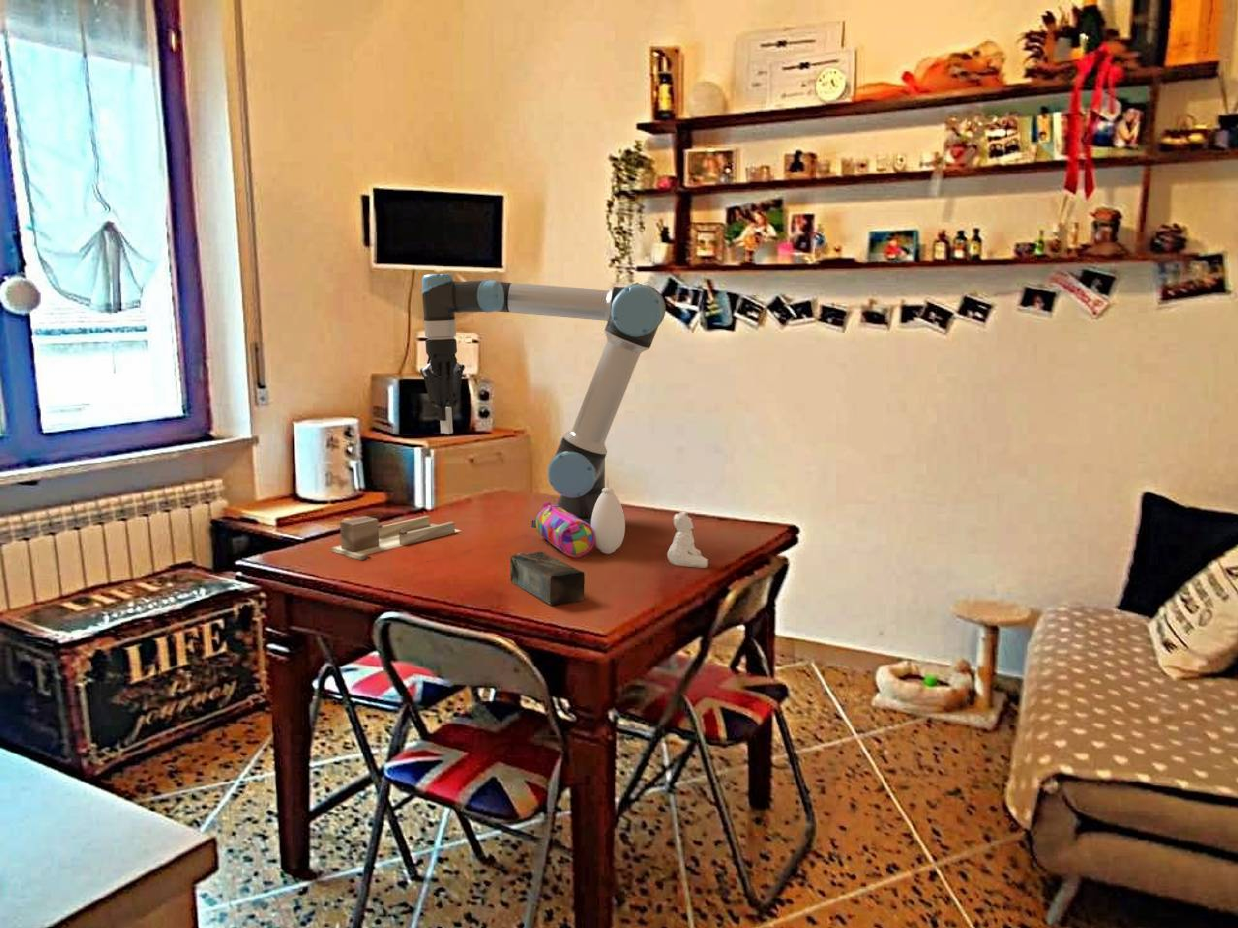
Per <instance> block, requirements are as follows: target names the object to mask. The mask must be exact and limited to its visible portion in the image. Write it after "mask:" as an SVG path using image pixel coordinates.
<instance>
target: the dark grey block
mask: <svg viewBox="0 0 1238 928" xmlns="http://www.w3.org/2000/svg"><path fill="white" fill-rule="evenodd" d="M509 569H510V570H509V571H510V572H509V573H510V574H509V575H510V582H511V583H512V584H514V585H515V586H517V587H519V588H520V589H521V590H523V591H525V592H527V593H529V594H530V595H532V596H533V597H535V598H538V599H539V600H541V601H542V602H544V603H546V604H547V605H548V606H552V607H553V606H558V605H564V604H571V603H578V602H583V601H584V600H585V583H586V580H585V577H586V576H585V575H586V573H585V571H582V570H580V569H578V568H577V567H574V566H571V565H570V564H567V563H566V562H565V563H564V562H563V561H560V560H558V559H557V558H555V557H552V556H551V555H549V554H546V553H545V552H543V551H536V552H530V553H528V552H527V553H525V552H519V553H517V554H515V555H511V556H510V567H509Z"/></svg>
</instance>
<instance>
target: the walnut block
mask: <svg viewBox="0 0 1238 928" xmlns="http://www.w3.org/2000/svg"><path fill="white" fill-rule="evenodd" d="M378 524H379V518H375V517H370V516H366V515H365V516H364V515H363V516H360V517H355V518H350V519H345V520H341V521H339V527H340V545H341V549H345V550H348V551H351V552H357V551H362V550H366V549H370V548H374V547H378V546H379V527H378Z"/></svg>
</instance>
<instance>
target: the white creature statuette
mask: <svg viewBox="0 0 1238 928" xmlns="http://www.w3.org/2000/svg"><path fill="white" fill-rule="evenodd" d="M692 520H693V519H692V518H691V517H689V515H688V512H687V511H684V510H682V511H680V512H679V513H676V514H675V515H674V516H673V525H674V527H675V528H676V530H677V531H676V533H675V534H674V536H673V541H672V544H671V545H670V547H669V548H668V551H667V553H666V556H667V559H668V560H669V563H671V564H672V565H674V566H678V567H689V568H700V569H705V568H708V563H709V562H708V561H709V559H708V558H706V557H704V556H703V555H702V552H701V550H700V549H698V548H696V545H695V542H696V541H695V538H694V536H693V531H692V529H694V525H693V522H692Z"/></svg>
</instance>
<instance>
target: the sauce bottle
mask: <svg viewBox="0 0 1238 928" xmlns="http://www.w3.org/2000/svg"><path fill="white" fill-rule="evenodd" d="M609 485H610V483H609V477H607V479H606V487H605V488H603V489H602V493H601V494H600V496H599V497H598V499H597V501H596V503H595V506H594V509H593V512H592V516H591V527H592V529H593V532H594V537H595V542H594V546H595V548H596V549H599V551H600V552H601V553H603V554H605V555H610V554H612V553H614V552H616V550H617V549H619V548H620V547H621V545H622V543H623V540H624V538H625V532H626V531H625V530H626V521H625V520H626V519H625V514H624V511H623V507H622V504H621V502H620V500H619V498H618V497H617V495H616V494H615V492H614V488H611V487H610V486H609Z"/></svg>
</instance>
